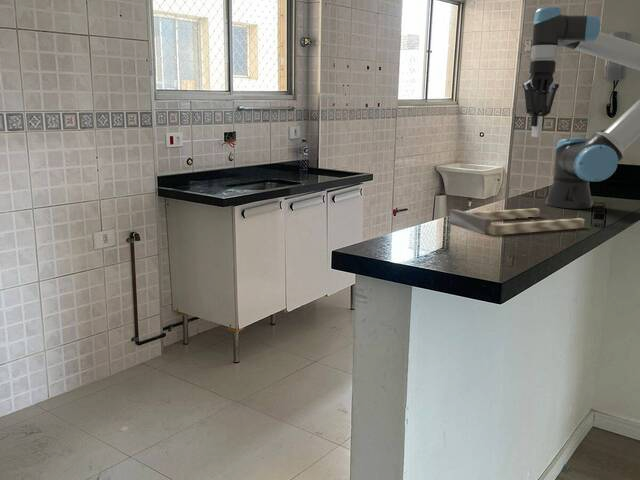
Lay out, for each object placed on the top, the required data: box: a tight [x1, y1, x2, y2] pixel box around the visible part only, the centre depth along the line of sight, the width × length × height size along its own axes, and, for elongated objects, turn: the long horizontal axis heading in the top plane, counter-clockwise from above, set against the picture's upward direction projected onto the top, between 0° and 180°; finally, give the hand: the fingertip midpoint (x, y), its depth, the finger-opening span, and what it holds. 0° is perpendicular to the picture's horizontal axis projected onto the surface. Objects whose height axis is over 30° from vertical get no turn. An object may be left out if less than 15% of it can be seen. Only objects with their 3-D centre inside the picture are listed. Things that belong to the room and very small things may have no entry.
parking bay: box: [448, 207, 585, 236], centre depth 174 cm, size 34×20×4 cm, turn 113°
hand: (536, 136), depth 193 cm, fingers closed
